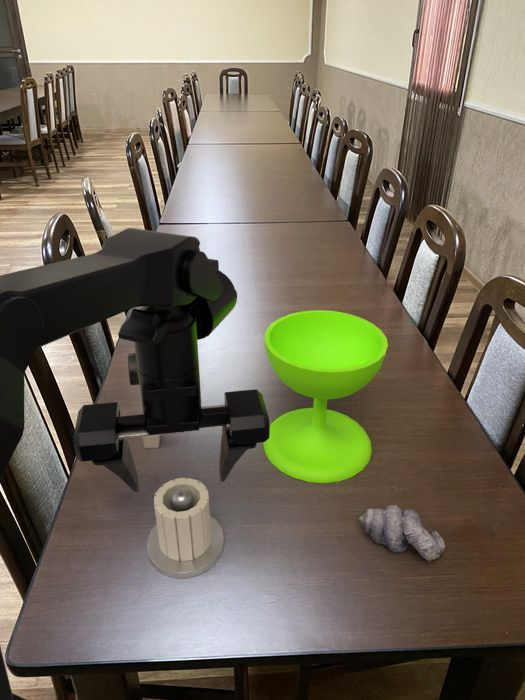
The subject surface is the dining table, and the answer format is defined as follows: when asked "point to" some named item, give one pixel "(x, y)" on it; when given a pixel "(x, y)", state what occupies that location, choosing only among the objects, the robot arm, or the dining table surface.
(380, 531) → the seashell
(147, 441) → the cream cube
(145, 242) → the robot arm
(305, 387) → the wineglass
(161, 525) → the beige fluted tube
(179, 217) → the dining table surface
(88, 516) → the dining table surface
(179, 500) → the stand
